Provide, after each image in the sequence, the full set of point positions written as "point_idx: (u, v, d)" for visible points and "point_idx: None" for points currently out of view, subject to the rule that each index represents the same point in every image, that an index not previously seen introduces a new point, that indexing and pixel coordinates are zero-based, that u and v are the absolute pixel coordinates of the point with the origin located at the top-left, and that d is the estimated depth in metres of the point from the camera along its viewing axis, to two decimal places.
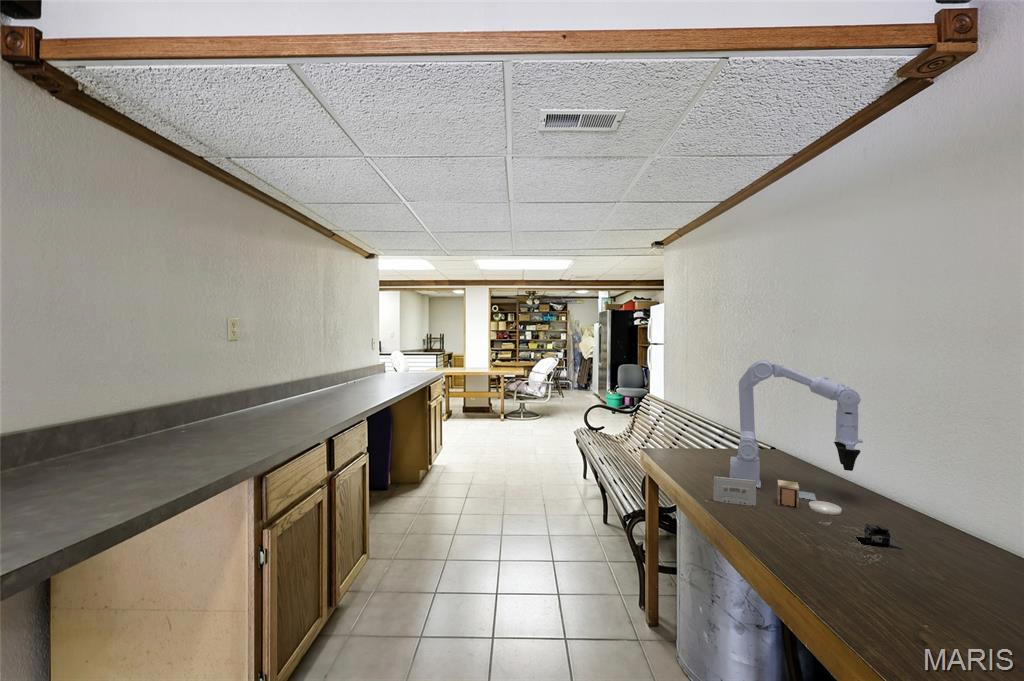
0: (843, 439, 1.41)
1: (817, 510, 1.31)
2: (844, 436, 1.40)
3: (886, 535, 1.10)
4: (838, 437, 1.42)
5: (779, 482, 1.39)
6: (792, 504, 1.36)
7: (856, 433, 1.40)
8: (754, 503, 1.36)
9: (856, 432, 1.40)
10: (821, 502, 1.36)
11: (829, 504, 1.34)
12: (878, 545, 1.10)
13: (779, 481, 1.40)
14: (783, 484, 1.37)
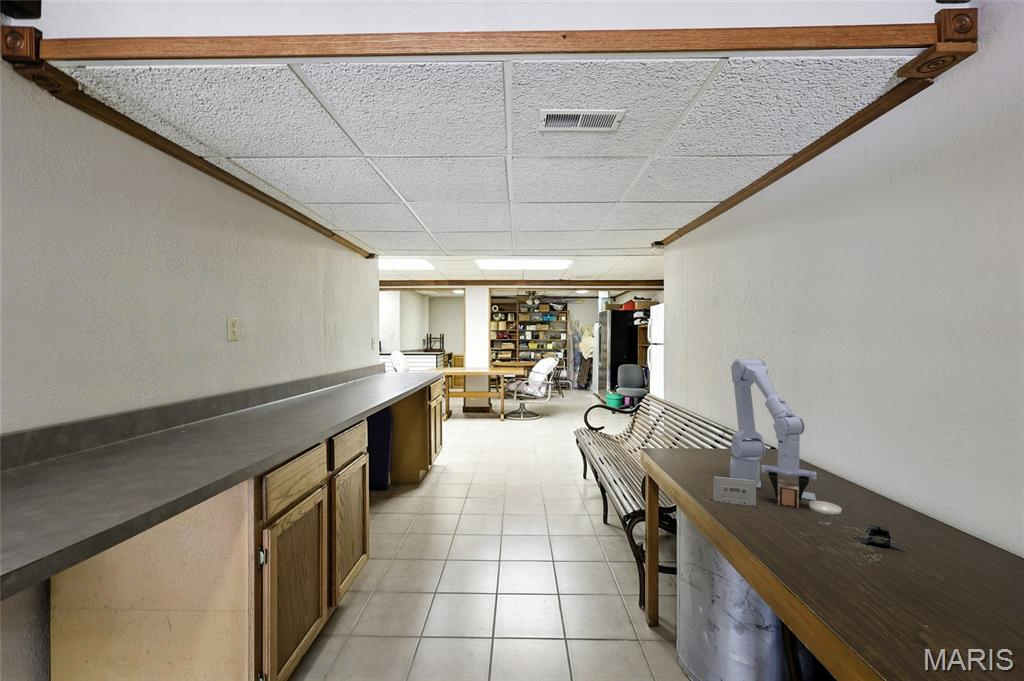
0: (778, 466, 1.40)
1: (817, 510, 1.31)
2: None
3: (886, 536, 1.10)
4: None
5: (779, 482, 1.39)
6: (792, 504, 1.36)
7: (782, 462, 1.37)
8: (754, 503, 1.36)
9: (782, 461, 1.37)
10: (821, 502, 1.36)
11: (829, 504, 1.34)
12: (877, 545, 1.10)
13: (779, 481, 1.40)
14: (783, 484, 1.37)
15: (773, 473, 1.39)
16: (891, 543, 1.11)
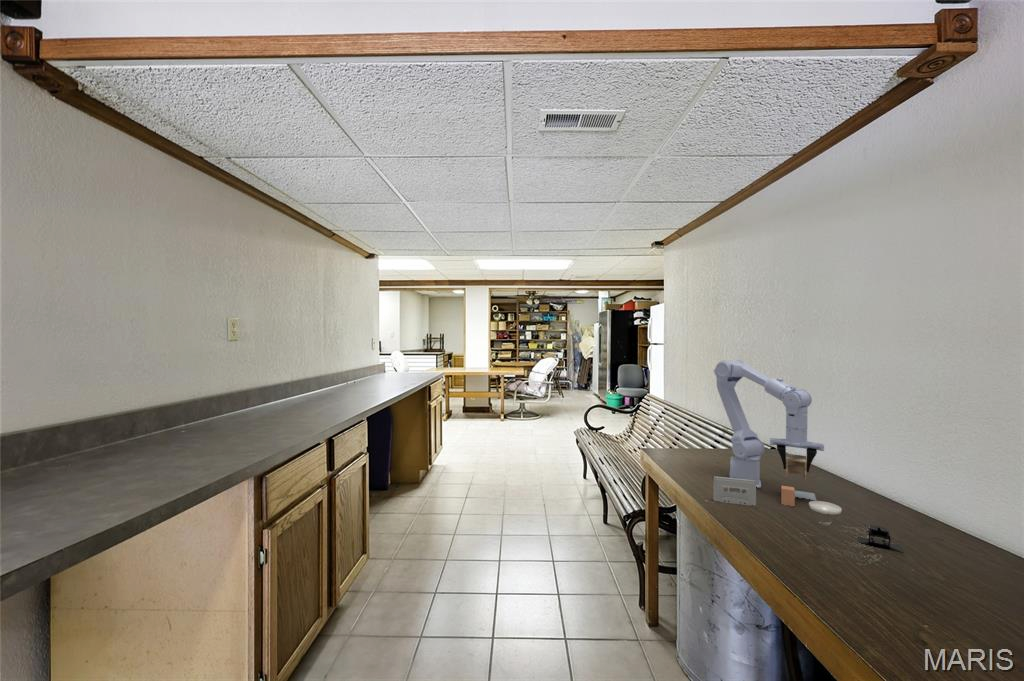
0: None
1: (817, 510, 1.31)
2: None
3: (886, 537, 1.09)
4: None
5: (787, 455, 1.42)
6: (792, 504, 1.36)
7: (790, 434, 1.40)
8: (754, 503, 1.36)
9: (790, 433, 1.40)
10: (821, 502, 1.36)
11: (829, 504, 1.34)
12: (875, 546, 1.10)
13: (787, 455, 1.43)
14: (791, 457, 1.41)
15: (781, 445, 1.43)
16: (892, 544, 1.10)
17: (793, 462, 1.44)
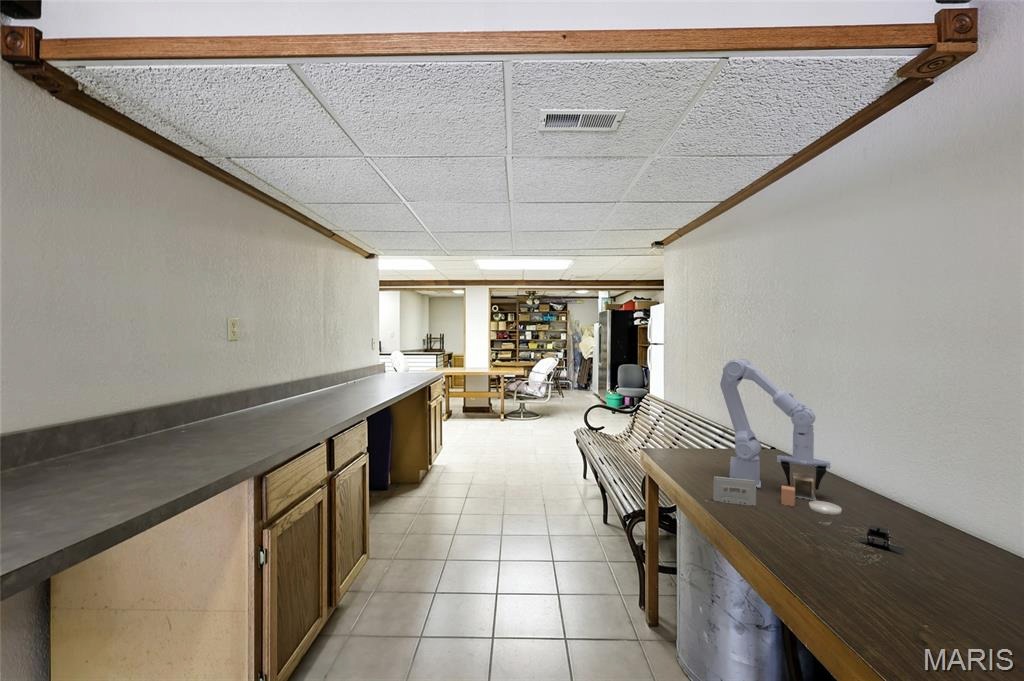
0: (793, 456, 1.47)
1: (817, 510, 1.31)
2: None
3: (885, 538, 1.09)
4: None
5: (794, 475, 1.46)
6: (792, 504, 1.36)
7: (797, 452, 1.44)
8: (754, 503, 1.36)
9: (797, 451, 1.44)
10: (821, 502, 1.36)
11: (829, 504, 1.34)
12: (873, 546, 1.10)
13: (794, 474, 1.47)
14: (798, 476, 1.44)
15: (788, 463, 1.46)
16: (893, 546, 1.09)
17: (799, 481, 1.47)
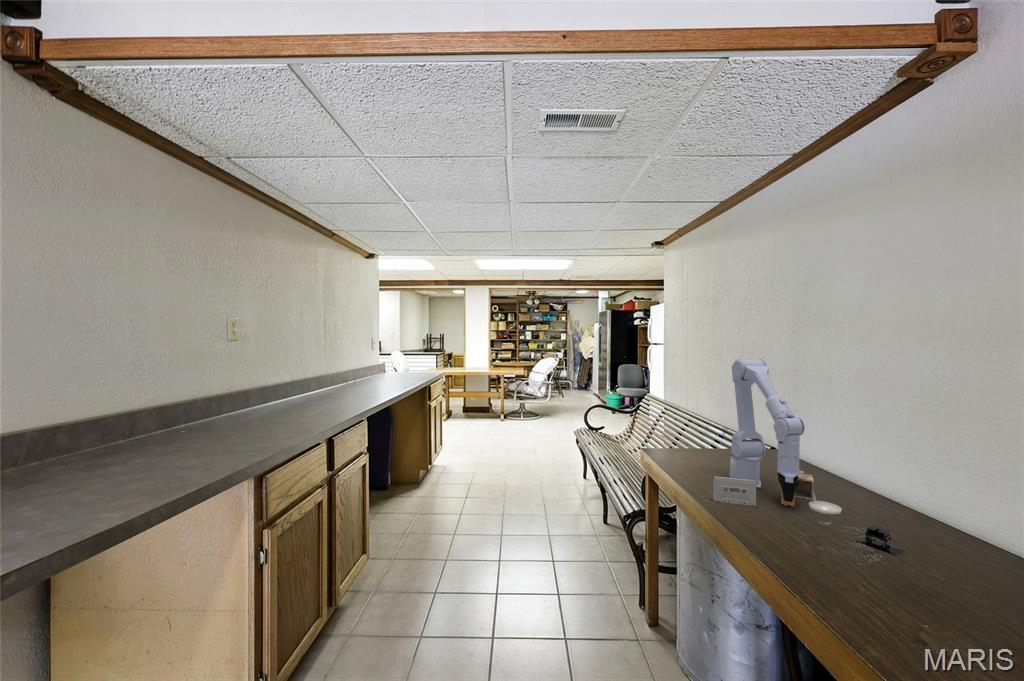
0: (784, 470, 1.36)
1: (817, 510, 1.31)
2: (785, 467, 1.36)
3: (882, 538, 1.08)
4: (779, 468, 1.37)
5: None
6: (792, 504, 1.36)
7: (797, 464, 1.35)
8: (754, 503, 1.36)
9: (797, 463, 1.35)
10: (821, 502, 1.36)
11: (829, 504, 1.34)
12: (870, 545, 1.10)
13: None
14: (798, 476, 1.44)
15: None
16: (893, 548, 1.08)
17: (799, 481, 1.47)
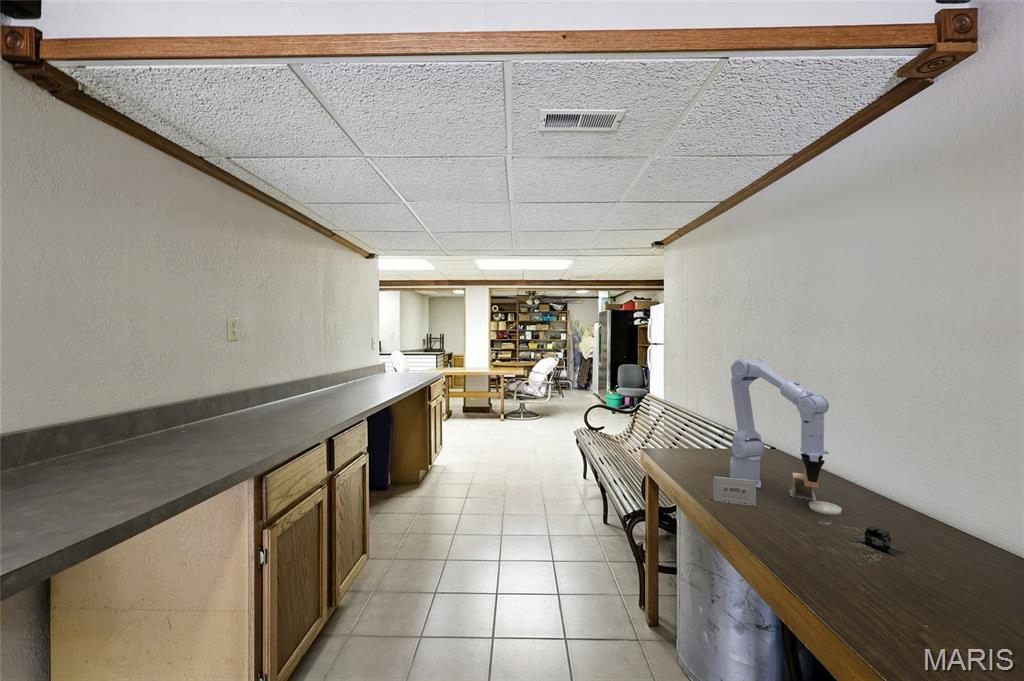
0: (808, 450, 1.33)
1: (817, 510, 1.31)
2: (809, 446, 1.32)
3: (880, 539, 1.08)
4: (803, 448, 1.34)
5: (794, 475, 1.46)
6: (815, 485, 1.33)
7: (822, 443, 1.32)
8: (754, 503, 1.36)
9: (821, 443, 1.32)
10: (821, 502, 1.36)
11: (829, 504, 1.34)
12: (868, 545, 1.10)
13: (794, 474, 1.47)
14: (798, 476, 1.44)
15: None
16: (892, 549, 1.08)
17: (799, 481, 1.47)
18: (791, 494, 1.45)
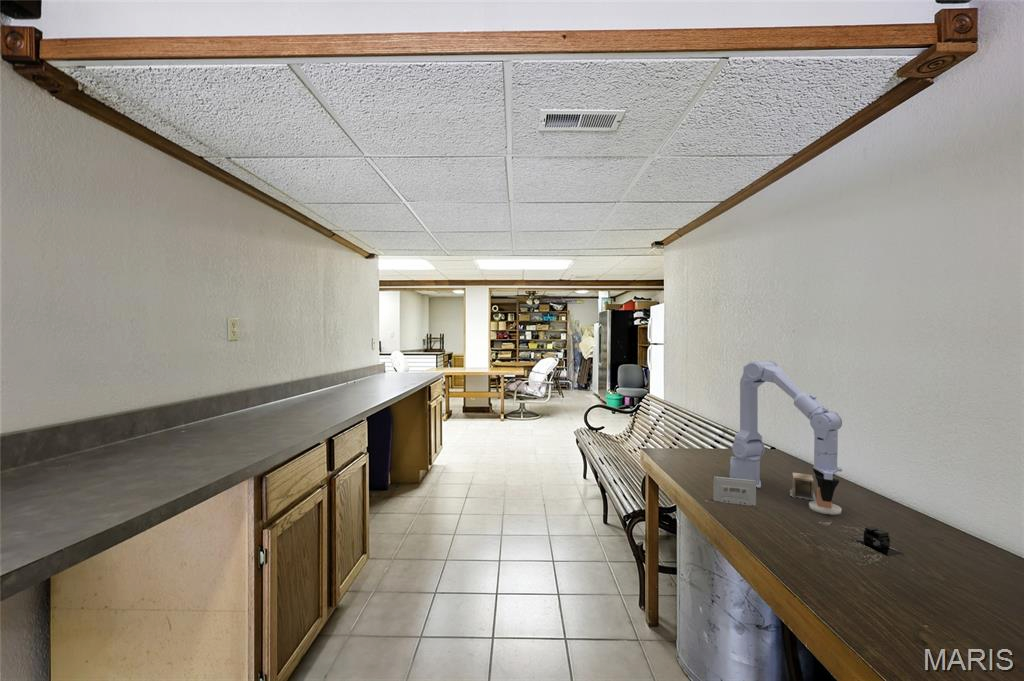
0: (821, 467, 1.31)
1: (817, 510, 1.31)
2: (823, 464, 1.31)
3: (878, 539, 1.08)
4: (816, 465, 1.33)
5: (794, 475, 1.46)
6: (828, 506, 1.31)
7: (835, 461, 1.30)
8: (754, 503, 1.36)
9: (835, 460, 1.30)
10: None
11: None
12: (866, 545, 1.10)
13: (794, 474, 1.47)
14: (798, 476, 1.44)
15: None
16: (890, 549, 1.07)
17: (799, 481, 1.47)
18: (791, 494, 1.45)
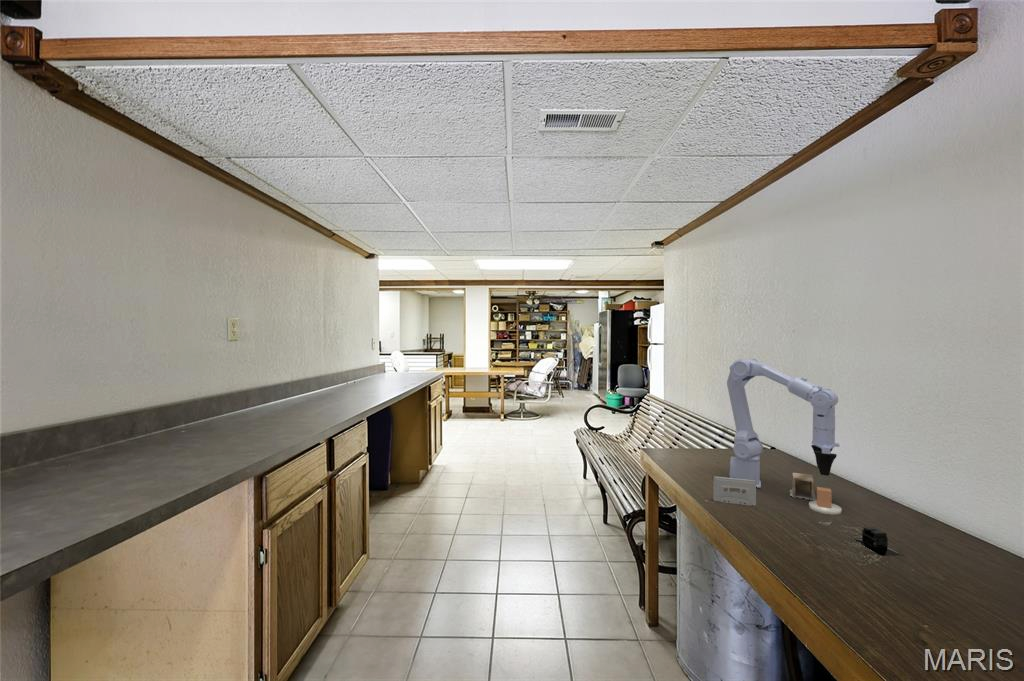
0: (819, 443, 1.36)
1: (817, 510, 1.31)
2: (821, 439, 1.36)
3: (874, 538, 1.08)
4: (814, 441, 1.38)
5: (794, 475, 1.46)
6: (828, 506, 1.31)
7: (833, 436, 1.35)
8: (754, 503, 1.36)
9: (833, 435, 1.35)
10: None
11: None
12: (863, 544, 1.11)
13: (794, 474, 1.47)
14: (798, 476, 1.44)
15: None
16: (886, 550, 1.07)
17: (799, 481, 1.47)
18: (791, 494, 1.45)
